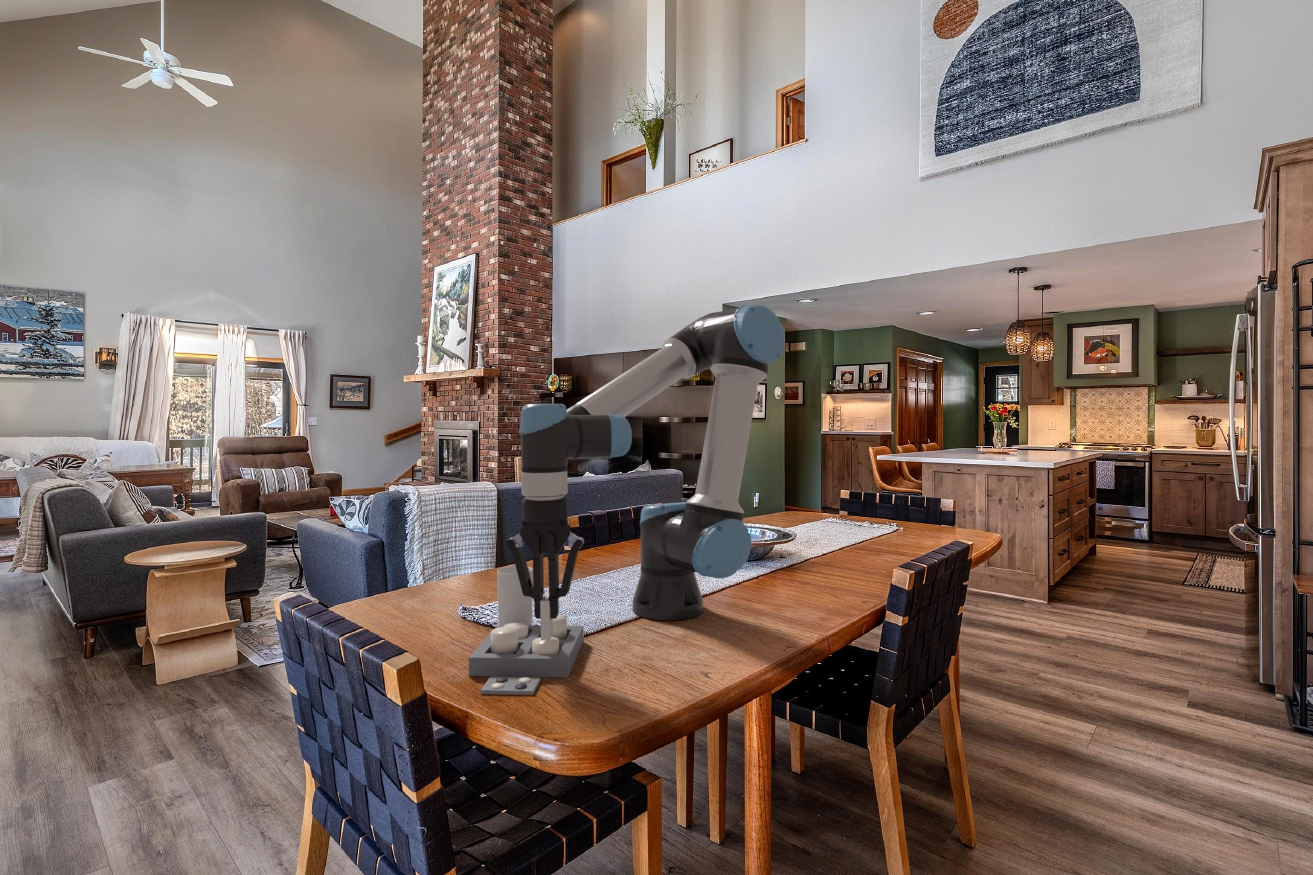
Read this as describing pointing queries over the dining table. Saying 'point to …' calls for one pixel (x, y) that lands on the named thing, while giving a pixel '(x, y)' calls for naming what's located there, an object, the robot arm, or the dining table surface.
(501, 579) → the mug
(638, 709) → the dining table surface
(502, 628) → the button
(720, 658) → the dining table surface
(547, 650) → the button
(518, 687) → the card
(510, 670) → the board
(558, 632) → the button
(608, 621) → the dining table surface
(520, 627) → the button
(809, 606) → the dining table surface
